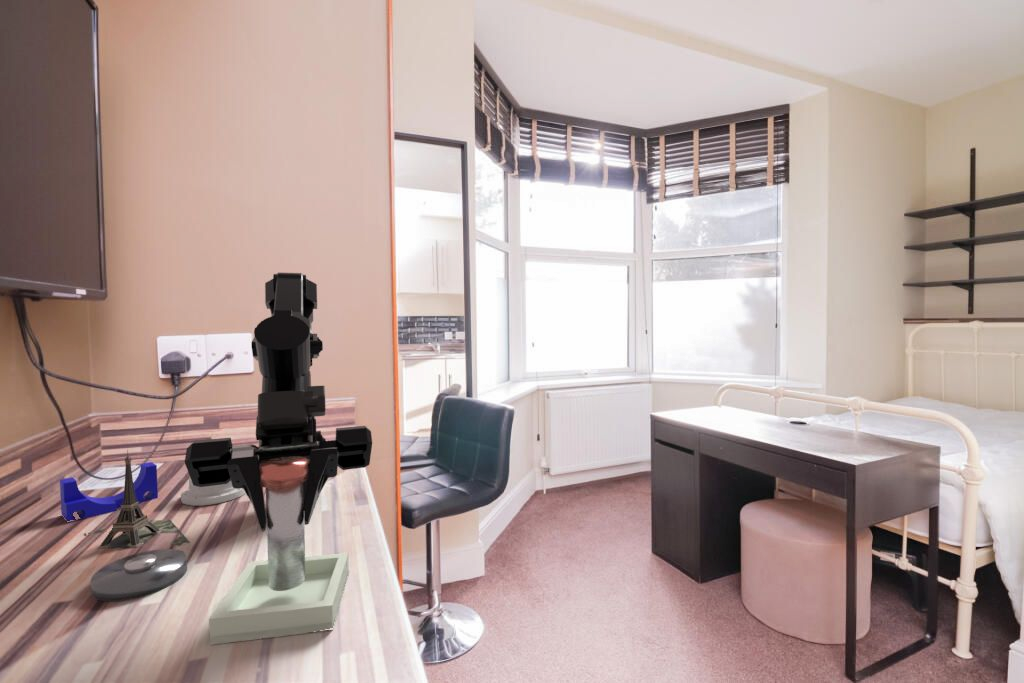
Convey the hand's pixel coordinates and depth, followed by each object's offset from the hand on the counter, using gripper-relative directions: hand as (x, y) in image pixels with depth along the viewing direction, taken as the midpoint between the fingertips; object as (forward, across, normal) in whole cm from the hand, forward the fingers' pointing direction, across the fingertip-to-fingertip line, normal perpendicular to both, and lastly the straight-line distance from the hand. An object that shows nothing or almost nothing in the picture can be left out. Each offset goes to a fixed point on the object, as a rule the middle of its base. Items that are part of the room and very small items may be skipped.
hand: (285, 526), depth 50 cm
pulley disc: (-3, -16, +16) cm, 23 cm away
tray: (+6, 0, +7) cm, 9 cm away
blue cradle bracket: (-24, -28, +38) cm, 53 cm away
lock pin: (+4, 0, +6) cm, 7 cm away
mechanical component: (-23, -13, +37) cm, 46 cm away
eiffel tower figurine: (-12, -20, +27) cm, 36 cm away
